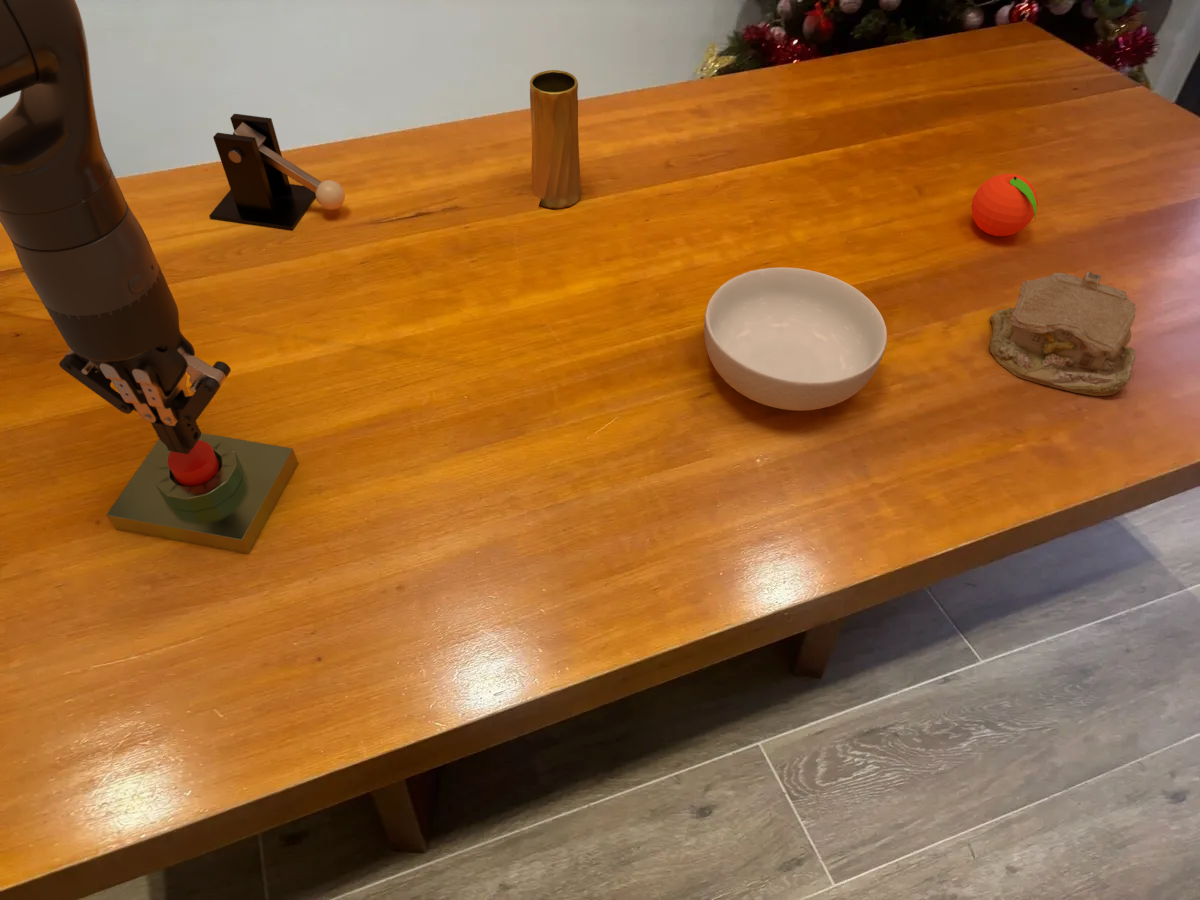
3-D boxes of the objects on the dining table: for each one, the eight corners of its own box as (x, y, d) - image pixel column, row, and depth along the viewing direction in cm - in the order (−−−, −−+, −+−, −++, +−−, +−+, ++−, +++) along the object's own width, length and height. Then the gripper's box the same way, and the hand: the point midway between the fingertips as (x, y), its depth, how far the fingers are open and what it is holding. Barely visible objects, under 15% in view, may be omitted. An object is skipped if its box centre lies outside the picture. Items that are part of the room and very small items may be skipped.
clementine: (1043, 244, 104) (1068, 191, 99) (996, 260, 102) (1020, 206, 97) (996, 207, 109) (1018, 154, 103) (950, 221, 107) (970, 168, 101)
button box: (116, 530, 76) (96, 501, 73) (175, 442, 82) (159, 412, 79) (249, 555, 74) (235, 527, 71) (298, 464, 81) (288, 434, 78)
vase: (520, 193, 109) (514, 80, 98) (557, 174, 112) (555, 62, 101) (554, 215, 106) (552, 101, 95) (591, 195, 109) (593, 82, 98)
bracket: (322, 198, 107) (301, 114, 99) (294, 238, 102) (270, 152, 94) (244, 187, 108) (216, 103, 100) (212, 226, 103) (181, 141, 95)
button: (166, 482, 75) (158, 469, 73) (187, 450, 77) (180, 436, 76) (206, 489, 74) (199, 476, 73) (226, 457, 76) (220, 443, 75)
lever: (343, 204, 104) (353, 185, 102) (332, 220, 102) (342, 201, 100) (237, 137, 100) (245, 116, 98) (224, 152, 98) (232, 132, 96)
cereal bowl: (881, 341, 93) (899, 287, 87) (854, 457, 83) (873, 404, 77) (722, 302, 96) (730, 248, 91) (677, 408, 86) (684, 355, 81)
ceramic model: (970, 360, 91) (1006, 283, 84) (998, 299, 98) (1034, 221, 90) (1115, 414, 87) (1167, 337, 79) (1134, 346, 93) (1184, 268, 85)
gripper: (216, 254, 62) (281, 424, 75) (41, 229, 63) (134, 399, 76) (161, 326, 57) (240, 494, 70) (-28, 297, 58) (84, 466, 71)
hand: (184, 444), depth 73 cm, fingers closed
